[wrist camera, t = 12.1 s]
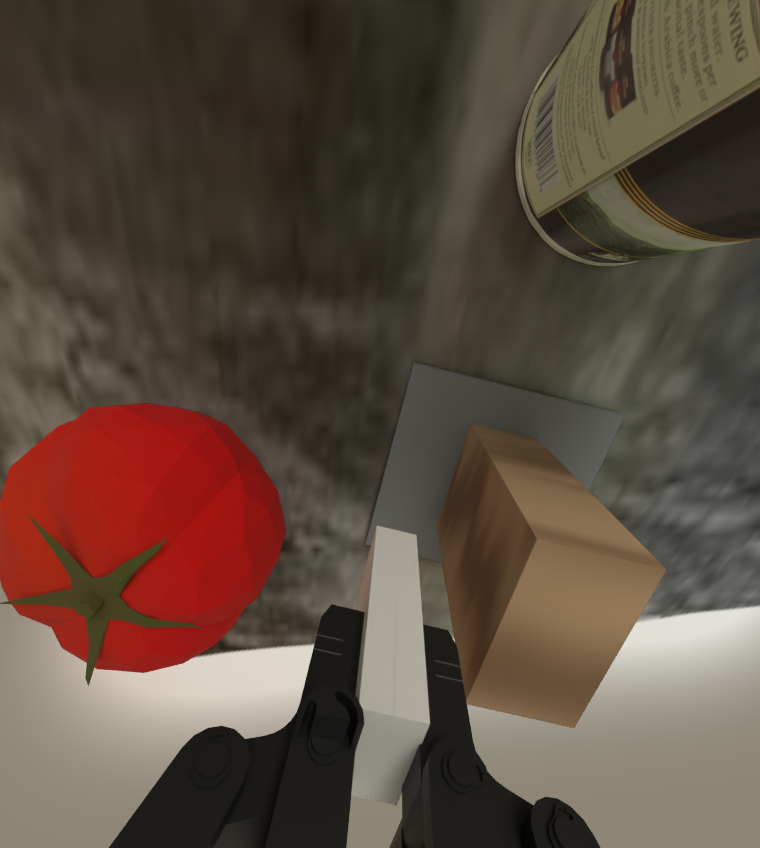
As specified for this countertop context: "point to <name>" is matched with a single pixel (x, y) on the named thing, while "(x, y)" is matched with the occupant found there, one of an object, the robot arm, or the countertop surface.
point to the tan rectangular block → (535, 579)
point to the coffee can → (646, 132)
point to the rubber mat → (446, 432)
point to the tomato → (138, 535)
